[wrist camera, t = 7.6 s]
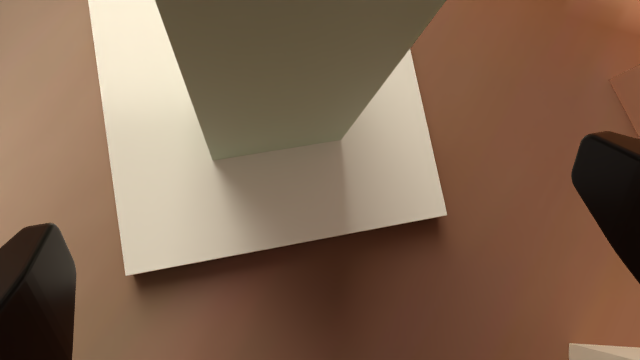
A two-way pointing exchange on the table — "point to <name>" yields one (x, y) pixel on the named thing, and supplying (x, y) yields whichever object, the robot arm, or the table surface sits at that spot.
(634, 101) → the terracotta brick
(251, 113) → the tall sage block
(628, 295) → the table surface
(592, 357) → the cream cube
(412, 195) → the white tile
